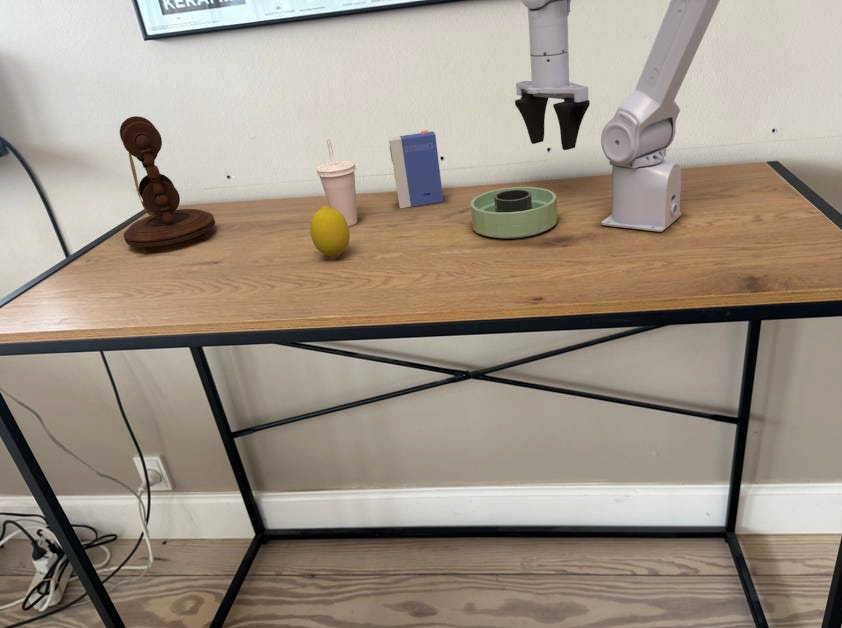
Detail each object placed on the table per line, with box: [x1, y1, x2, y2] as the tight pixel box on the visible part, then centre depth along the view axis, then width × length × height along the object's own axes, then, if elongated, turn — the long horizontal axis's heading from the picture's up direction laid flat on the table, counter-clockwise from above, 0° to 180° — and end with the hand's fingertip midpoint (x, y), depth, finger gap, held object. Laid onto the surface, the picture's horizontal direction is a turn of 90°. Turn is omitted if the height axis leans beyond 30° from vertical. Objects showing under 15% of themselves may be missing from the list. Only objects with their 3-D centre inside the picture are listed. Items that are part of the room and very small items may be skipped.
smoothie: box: [315, 138, 358, 227], centre depth 114 cm, size 6×6×14 cm
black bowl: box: [494, 190, 532, 212], centre depth 106 cm, size 6×6×4 cm
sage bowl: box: [470, 186, 558, 240], centre depth 107 cm, size 13×13×4 cm
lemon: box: [309, 205, 350, 259], centre depth 101 cm, size 6×6×8 cm
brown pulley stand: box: [119, 115, 216, 255], centre depth 115 cm, size 15×15×20 cm
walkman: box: [388, 129, 444, 209], centre depth 120 cm, size 8×3×12 cm, turn 99°
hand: (552, 145), depth 111 cm, fingers open, 7 cm apart
